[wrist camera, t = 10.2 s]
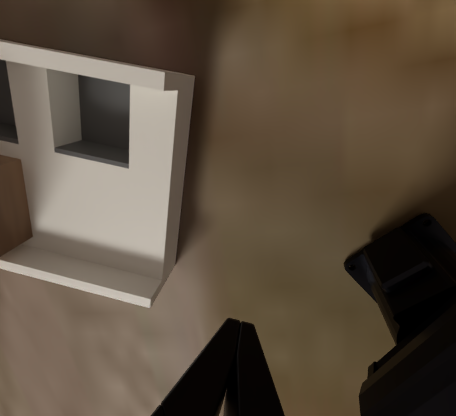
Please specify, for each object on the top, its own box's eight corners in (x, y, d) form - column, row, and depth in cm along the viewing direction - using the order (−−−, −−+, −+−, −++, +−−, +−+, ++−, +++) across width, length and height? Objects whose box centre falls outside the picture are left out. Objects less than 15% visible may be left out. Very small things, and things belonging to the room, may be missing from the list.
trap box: (195, 75, 17) (164, 72, 13) (175, 265, 23) (150, 308, 19) (-54, 29, 19) (-160, 11, 14) (-11, 218, 25) (-75, 248, 20)
